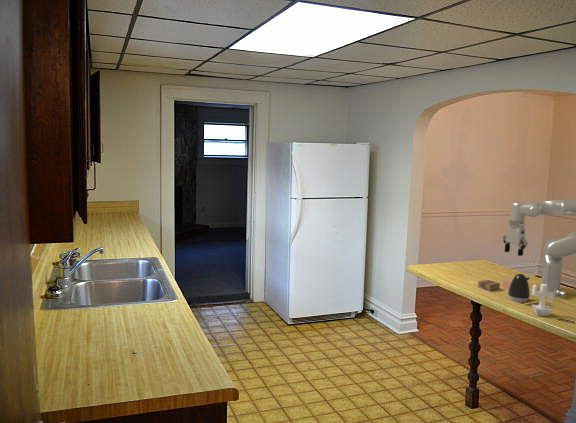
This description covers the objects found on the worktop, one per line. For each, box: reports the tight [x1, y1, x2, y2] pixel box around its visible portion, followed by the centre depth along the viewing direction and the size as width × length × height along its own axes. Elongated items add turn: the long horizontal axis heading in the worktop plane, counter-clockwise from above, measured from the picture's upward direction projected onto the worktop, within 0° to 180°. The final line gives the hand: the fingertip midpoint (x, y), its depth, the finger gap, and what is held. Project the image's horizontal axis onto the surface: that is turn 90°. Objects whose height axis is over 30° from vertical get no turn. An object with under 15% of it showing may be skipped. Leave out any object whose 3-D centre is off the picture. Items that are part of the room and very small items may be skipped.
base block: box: [477, 279, 501, 293], centre depth 281 cm, size 8×8×4 cm
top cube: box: [501, 278, 513, 291], centre depth 282 cm, size 5×5×5 cm
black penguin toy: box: [507, 273, 531, 304], centre depth 261 cm, size 10×10×15 cm
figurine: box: [531, 283, 555, 317], centre depth 242 cm, size 7×9×15 cm
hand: (513, 253), depth 284 cm, fingers open, 9 cm apart
